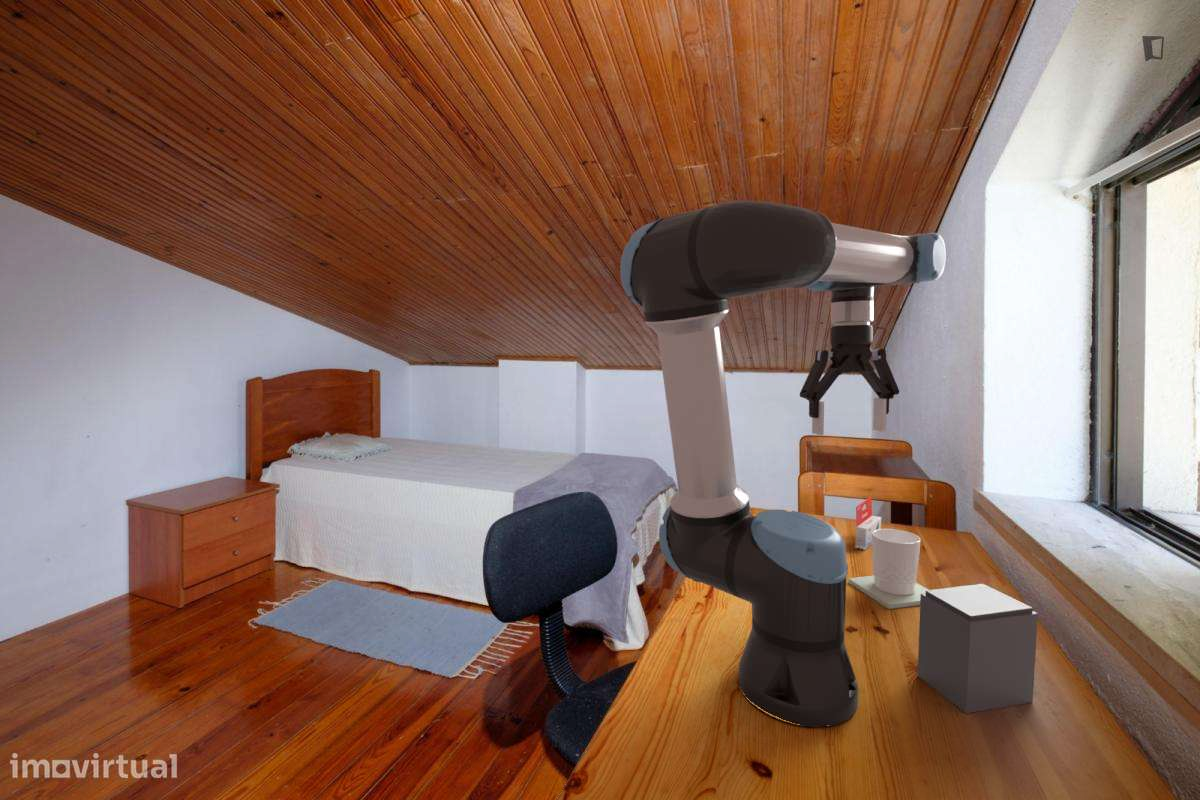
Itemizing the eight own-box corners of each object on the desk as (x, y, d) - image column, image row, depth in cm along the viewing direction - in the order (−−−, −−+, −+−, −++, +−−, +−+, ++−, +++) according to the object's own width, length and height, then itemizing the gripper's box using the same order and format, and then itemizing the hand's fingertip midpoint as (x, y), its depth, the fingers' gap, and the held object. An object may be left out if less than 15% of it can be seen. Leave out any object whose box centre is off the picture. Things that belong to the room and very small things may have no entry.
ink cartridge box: (881, 537, 129) (882, 497, 128) (866, 551, 121) (867, 508, 120) (869, 535, 130) (870, 496, 129) (854, 548, 122) (855, 506, 121)
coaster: (888, 609, 94) (888, 604, 94) (848, 582, 105) (848, 578, 105) (943, 602, 96) (943, 597, 96) (898, 576, 107) (898, 572, 107)
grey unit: (966, 713, 68) (970, 618, 66) (917, 675, 76) (920, 589, 74) (1036, 701, 70) (1042, 608, 68) (981, 665, 78) (986, 581, 76)
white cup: (879, 575, 106) (880, 525, 105) (924, 587, 101) (926, 535, 100) (864, 588, 101) (865, 536, 100) (910, 601, 95) (912, 546, 94)
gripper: (893, 324, 111) (890, 426, 113) (782, 326, 106) (781, 432, 109) (922, 322, 104) (918, 431, 106) (803, 324, 99) (801, 438, 101)
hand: (848, 432), depth 107 cm, fingers open, 13 cm apart
